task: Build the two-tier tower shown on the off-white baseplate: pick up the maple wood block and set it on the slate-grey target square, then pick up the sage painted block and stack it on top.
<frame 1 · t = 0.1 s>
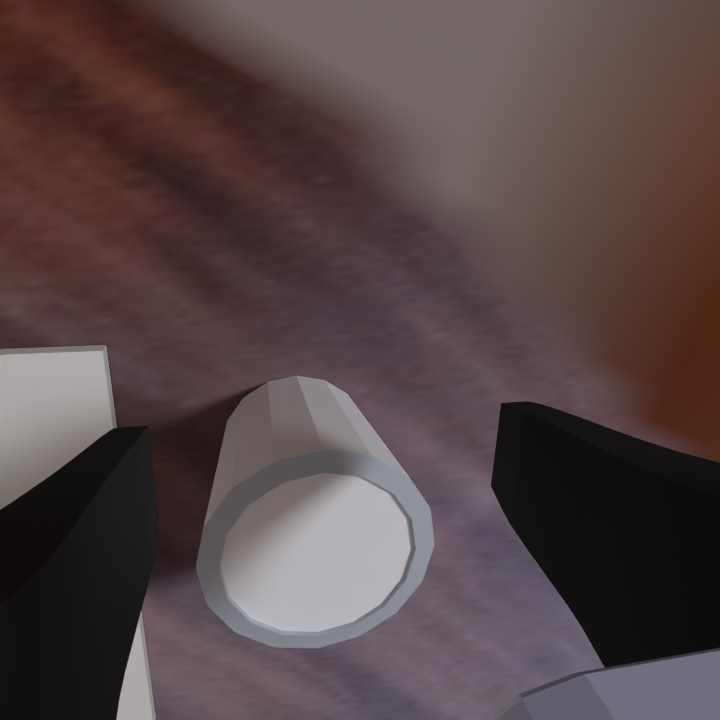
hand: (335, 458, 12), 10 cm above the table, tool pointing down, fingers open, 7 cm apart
white tumbler: (295, 439, 23), on the table
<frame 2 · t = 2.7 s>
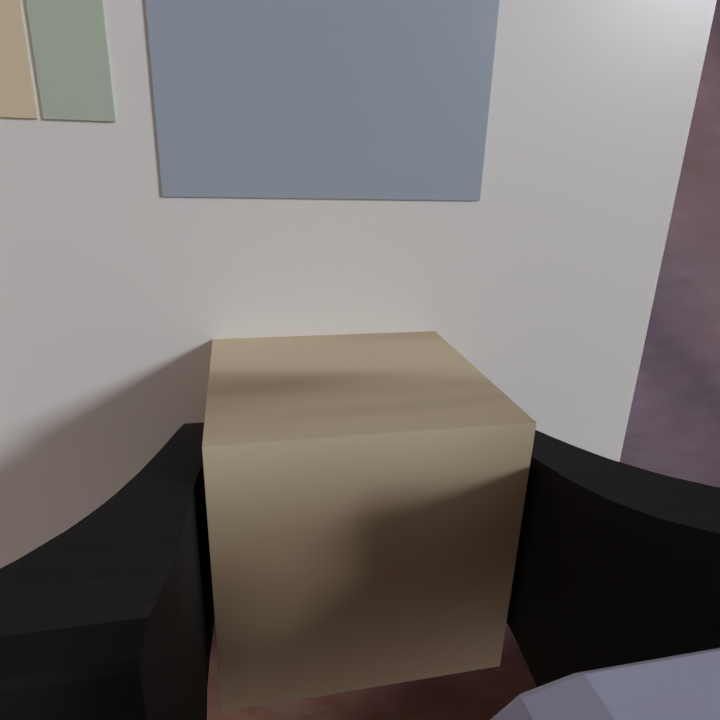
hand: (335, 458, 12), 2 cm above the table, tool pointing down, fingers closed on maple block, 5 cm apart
blueprint baseplate: (326, 23, 10), on the table
maple block: (327, 435, 12), point 1 cm above the table, touching blueprint baseplate, gripper
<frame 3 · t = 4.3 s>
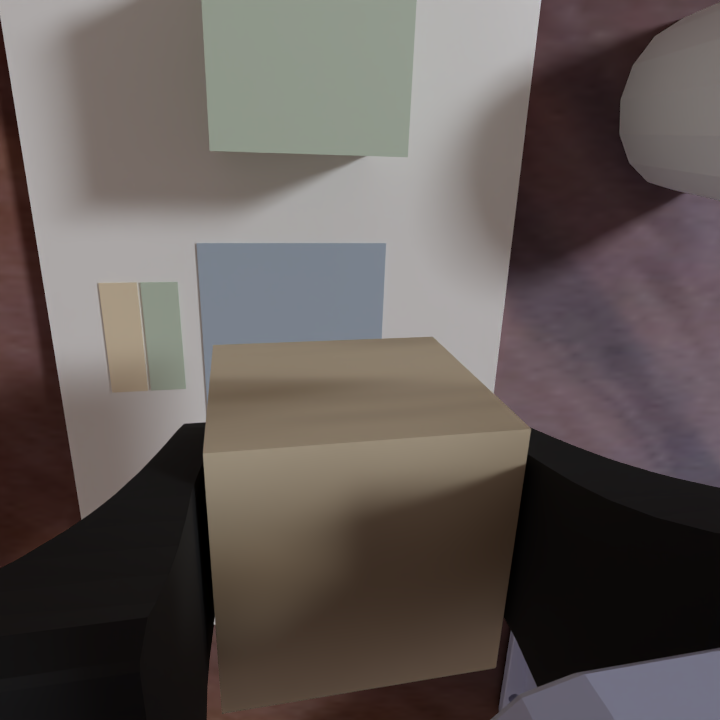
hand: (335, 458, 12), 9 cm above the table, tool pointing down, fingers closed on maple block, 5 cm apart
sage block: (292, 68, 16), point 1 cm above the table, touching blueprint baseplate
white tumbler: (686, 106, 20), on the table
blueprint baseplate: (293, 327, 20), on the table
maple block: (326, 439, 13), point 8 cm above the table, touching gripper
when the fingers open (3 cm above the table, at t = 5.9 s): maple block drops 1 cm, resting on blueprint baseplate.
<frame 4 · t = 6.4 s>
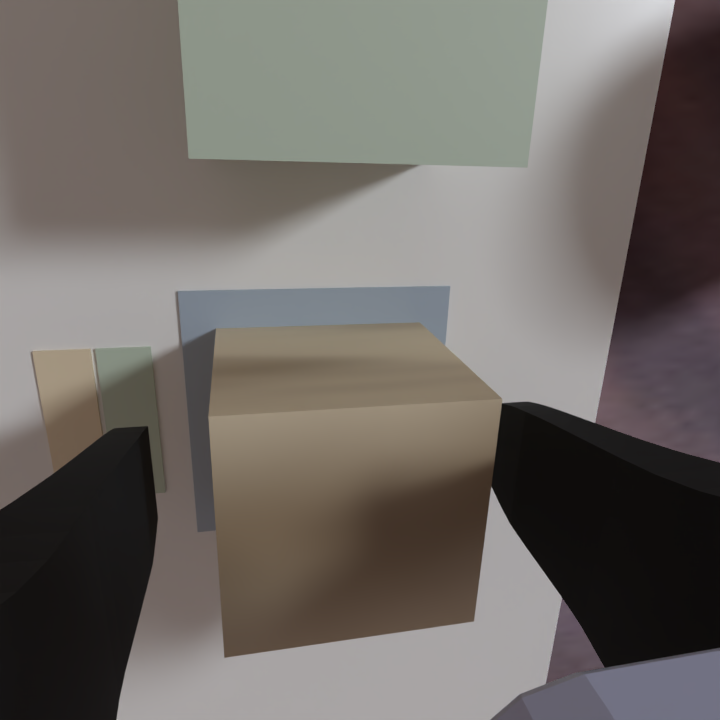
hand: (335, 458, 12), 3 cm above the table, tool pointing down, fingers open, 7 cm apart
sage block: (321, 29, 11), point 1 cm above the table, touching blueprint baseplate
blueprint baseplate: (316, 401, 14), on the table
maple block: (320, 418, 14), point 1 cm above the table, touching blueprint baseplate
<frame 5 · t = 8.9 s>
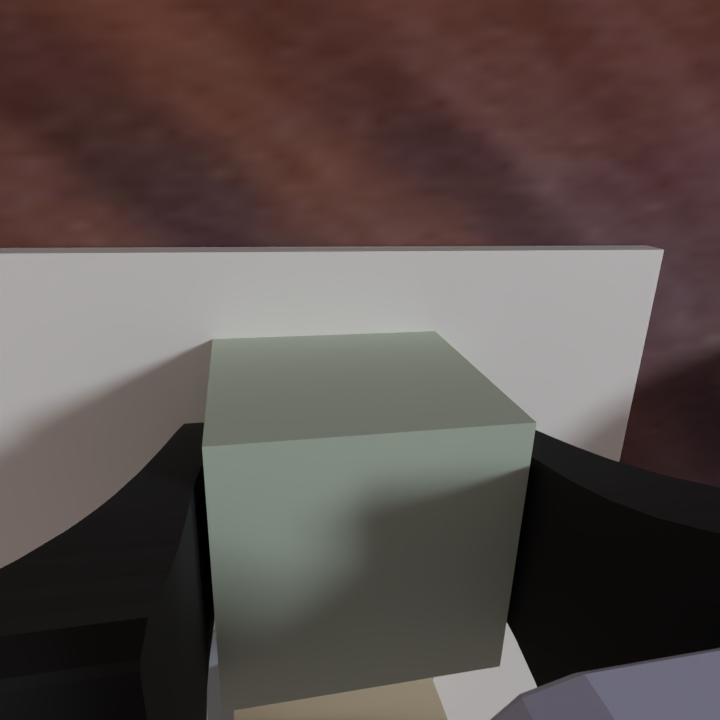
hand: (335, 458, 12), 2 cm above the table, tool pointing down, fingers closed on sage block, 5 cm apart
sage block: (327, 435, 12), point 1 cm above the table, touching blueprint baseplate, gripper
blueprint baseplate: (321, 683, 16), on the table
maple block: (325, 708, 15), point 1 cm above the table, touching blueprint baseplate
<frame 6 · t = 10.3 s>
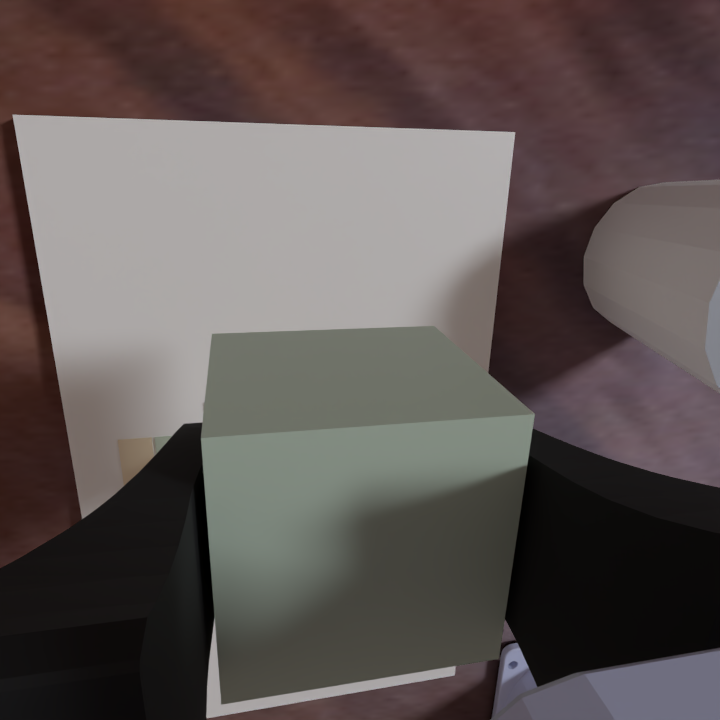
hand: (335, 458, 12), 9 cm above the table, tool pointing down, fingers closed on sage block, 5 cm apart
sage block: (326, 430, 12), point 8 cm above the table, touching gripper
white tumbler: (644, 256, 22), on the table
blueprint baseplate: (291, 461, 22), on the table
when the fingers open (7 cm above the table, at t = 11.6 s): sage block drops 1 cm, resting on maple block.
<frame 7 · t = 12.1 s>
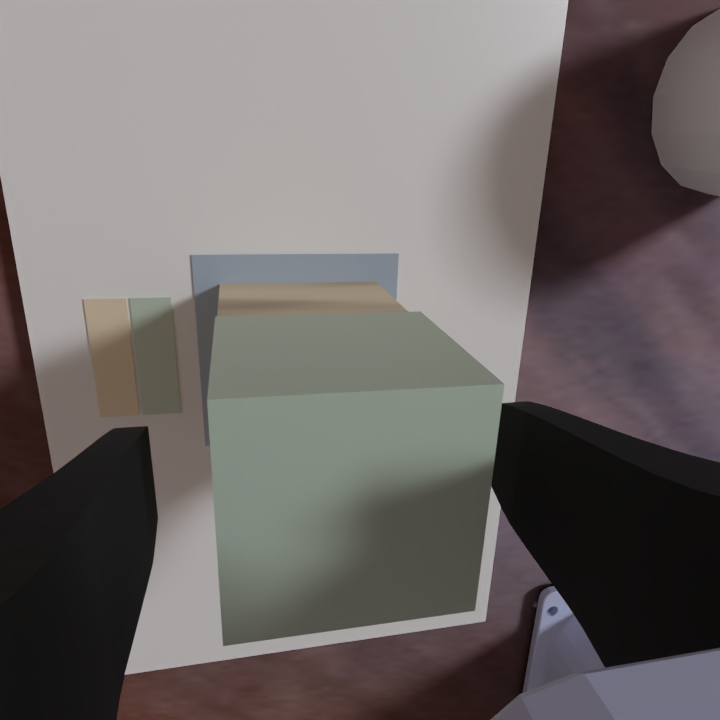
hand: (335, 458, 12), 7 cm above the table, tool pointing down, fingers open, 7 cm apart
sage block: (320, 408, 13), point 5 cm above the table, touching maple block
blueprint baseplate: (297, 345, 18), on the table
maple block: (300, 356, 18), point 1 cm above the table, touching blueprint baseplate, sage block
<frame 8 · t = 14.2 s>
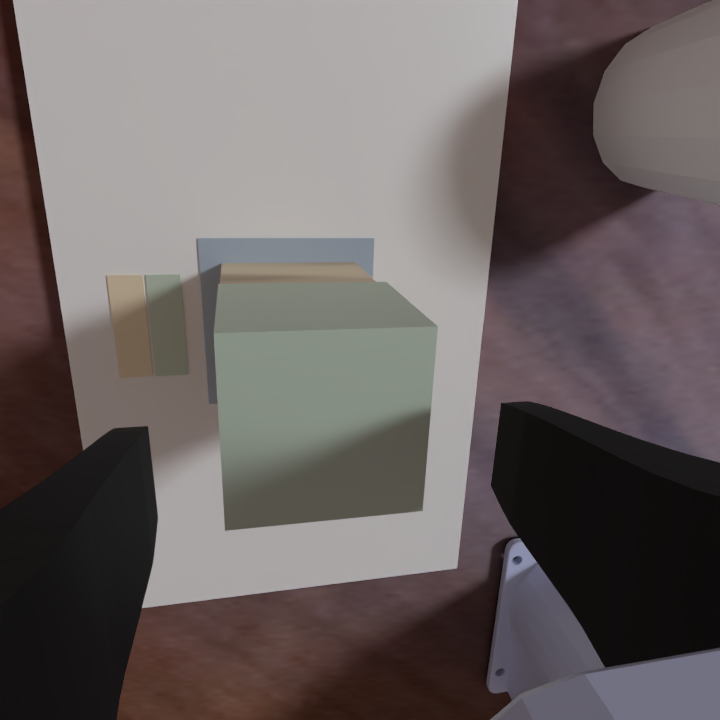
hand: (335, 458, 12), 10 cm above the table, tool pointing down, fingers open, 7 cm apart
sage block: (304, 361, 16), point 5 cm above the table, touching maple block
white tumbler: (656, 109, 22), on the table
blueprint baseplate: (288, 317, 21), on the table
maple block: (290, 326, 21), point 1 cm above the table, touching blueprint baseplate, sage block
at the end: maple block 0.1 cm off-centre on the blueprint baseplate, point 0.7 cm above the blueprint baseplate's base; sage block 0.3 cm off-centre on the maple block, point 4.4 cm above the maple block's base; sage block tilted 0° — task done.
